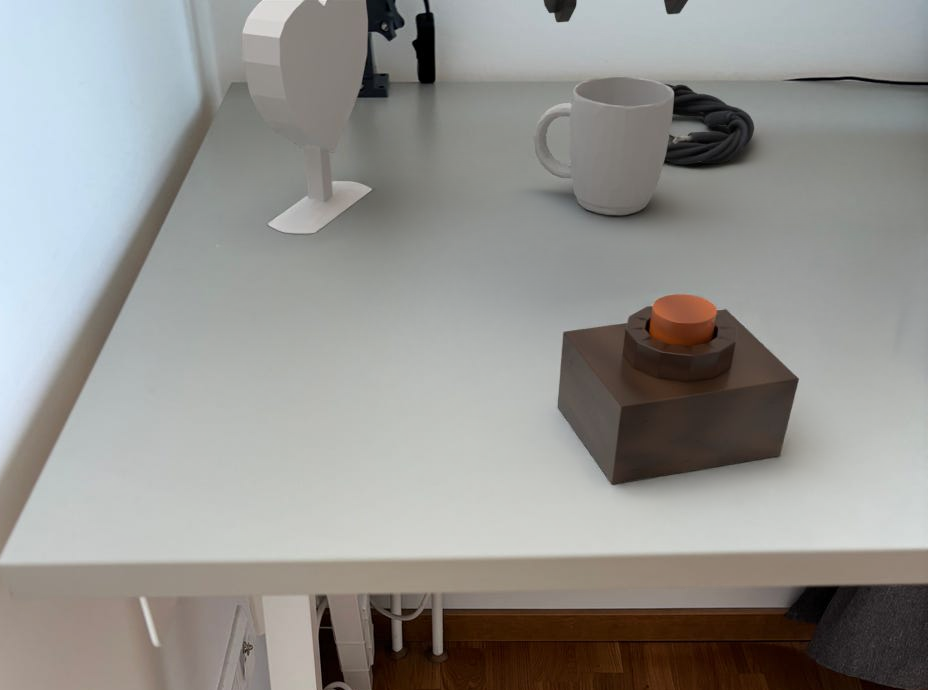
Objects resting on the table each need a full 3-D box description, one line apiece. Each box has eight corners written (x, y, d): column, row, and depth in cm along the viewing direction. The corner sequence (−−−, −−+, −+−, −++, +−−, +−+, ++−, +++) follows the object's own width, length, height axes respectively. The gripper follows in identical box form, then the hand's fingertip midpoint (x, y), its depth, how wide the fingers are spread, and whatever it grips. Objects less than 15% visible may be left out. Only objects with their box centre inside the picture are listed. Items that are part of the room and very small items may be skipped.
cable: (641, 107, 125) (645, 66, 122) (764, 122, 121) (772, 79, 118) (602, 157, 113) (606, 112, 110) (737, 174, 109) (746, 129, 106)
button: (695, 316, 71) (699, 290, 70) (723, 344, 68) (728, 318, 67) (638, 323, 70) (642, 298, 69) (665, 352, 67) (668, 326, 66)
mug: (671, 195, 105) (687, 83, 98) (643, 228, 99) (657, 111, 92) (548, 174, 109) (555, 65, 102) (514, 205, 103) (519, 92, 96)
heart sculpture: (336, 174, 109) (323, -33, 97) (381, 182, 107) (373, -27, 95) (255, 231, 98) (228, 7, 86) (303, 241, 97) (283, 14, 85)
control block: (712, 382, 79) (730, 283, 74) (780, 456, 72) (806, 352, 67) (557, 406, 76) (564, 305, 71) (611, 485, 69) (624, 379, 64)
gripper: (476, -296, 63) (533, -21, 63) (701, -299, 66) (755, -36, 66) (450, -192, 71) (501, 54, 71) (653, -199, 74) (702, 38, 73)
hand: (624, 10), depth 68 cm, fingers open, 7 cm apart
